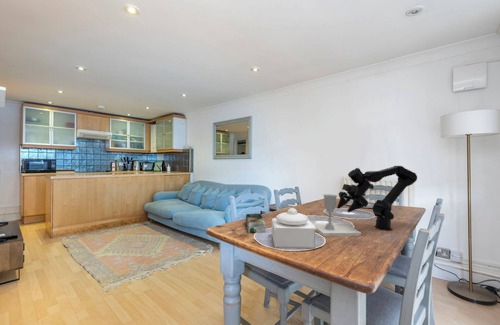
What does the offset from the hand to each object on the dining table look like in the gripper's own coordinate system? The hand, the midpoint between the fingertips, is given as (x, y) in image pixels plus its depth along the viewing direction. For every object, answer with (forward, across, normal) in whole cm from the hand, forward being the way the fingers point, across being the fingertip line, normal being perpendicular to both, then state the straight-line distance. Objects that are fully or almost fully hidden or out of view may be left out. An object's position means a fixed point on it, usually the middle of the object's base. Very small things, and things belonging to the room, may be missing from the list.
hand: (342, 209), depth 126 cm
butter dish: (+32, +10, -15) cm, 37 cm away
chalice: (+12, 0, +2) cm, 13 cm away
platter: (+11, -2, +6) cm, 12 cm away
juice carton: (+40, -14, -24) cm, 49 cm away
